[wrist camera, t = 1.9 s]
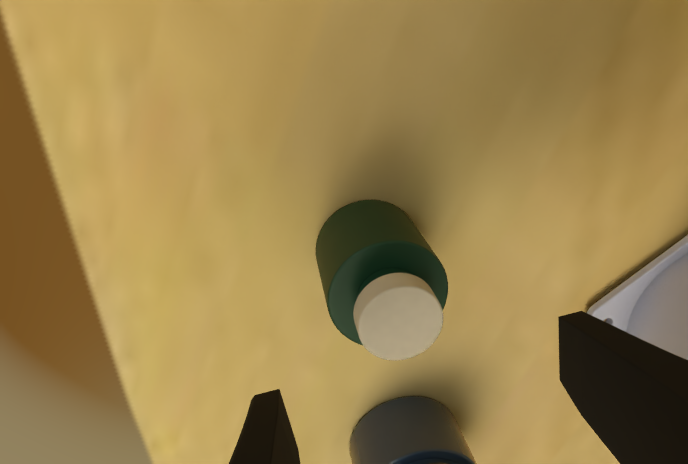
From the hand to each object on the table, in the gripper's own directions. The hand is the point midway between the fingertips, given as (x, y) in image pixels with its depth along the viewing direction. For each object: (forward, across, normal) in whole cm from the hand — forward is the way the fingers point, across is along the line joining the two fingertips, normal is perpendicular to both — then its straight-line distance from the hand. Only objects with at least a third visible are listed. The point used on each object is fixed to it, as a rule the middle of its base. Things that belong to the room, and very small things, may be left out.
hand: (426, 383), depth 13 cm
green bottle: (+8, 0, 0) cm, 8 cm away
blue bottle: (+8, 0, +10) cm, 13 cm away
